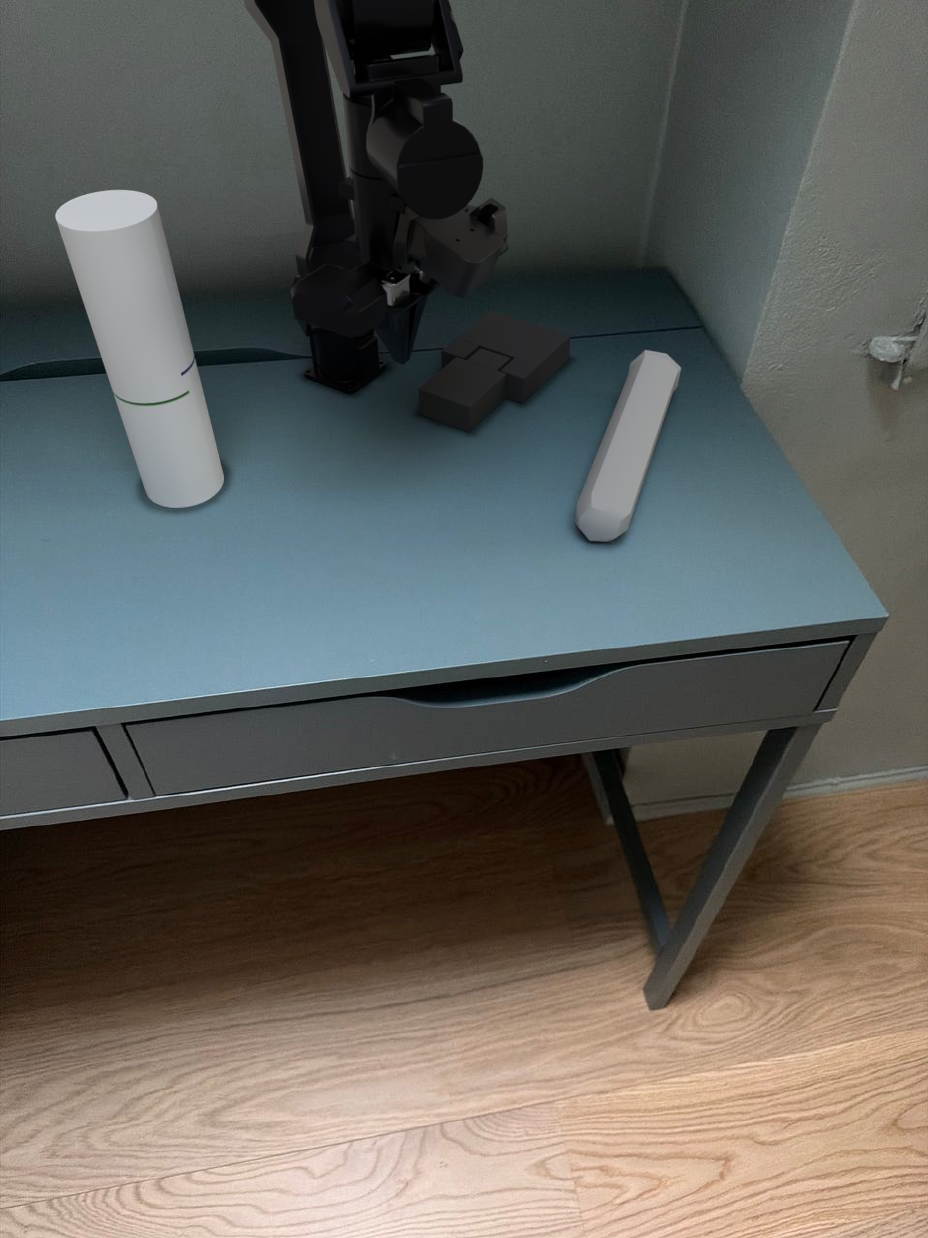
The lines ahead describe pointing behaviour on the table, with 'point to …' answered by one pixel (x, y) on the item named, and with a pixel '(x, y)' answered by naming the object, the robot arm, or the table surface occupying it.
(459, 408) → the pad
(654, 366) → the tube
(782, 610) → the table surface
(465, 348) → the notch pad
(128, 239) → the cylindrical container
